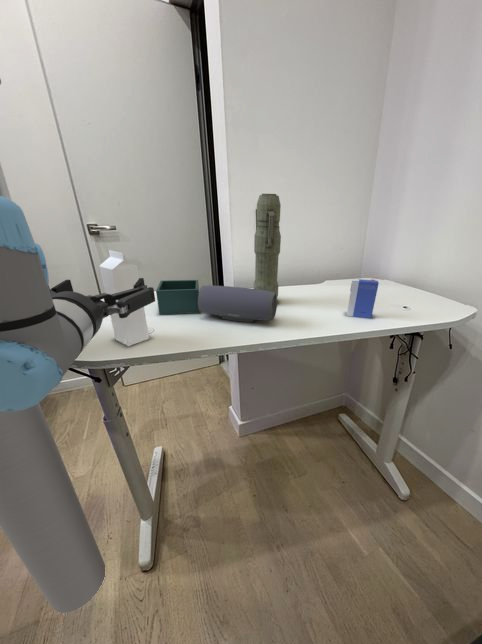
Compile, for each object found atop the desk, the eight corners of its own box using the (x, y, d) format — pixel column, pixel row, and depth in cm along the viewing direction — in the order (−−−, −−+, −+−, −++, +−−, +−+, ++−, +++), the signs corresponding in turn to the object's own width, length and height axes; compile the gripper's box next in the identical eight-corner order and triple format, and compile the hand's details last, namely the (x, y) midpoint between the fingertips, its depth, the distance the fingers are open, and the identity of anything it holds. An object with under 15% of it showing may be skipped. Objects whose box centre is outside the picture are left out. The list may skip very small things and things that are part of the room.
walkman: (370, 315, 97) (378, 279, 91) (371, 318, 94) (379, 281, 89) (346, 313, 98) (352, 277, 93) (346, 315, 96) (352, 279, 90)
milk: (128, 346, 72) (108, 254, 62) (115, 339, 75) (94, 251, 65) (149, 338, 76) (134, 251, 66) (136, 332, 80) (120, 248, 69)
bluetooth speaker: (276, 318, 92) (278, 287, 88) (270, 329, 84) (271, 295, 80) (210, 310, 97) (208, 280, 92) (198, 320, 89) (195, 287, 84)
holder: (159, 314, 92) (155, 290, 88) (163, 302, 103) (160, 280, 99) (199, 313, 94) (198, 289, 91) (199, 301, 105) (198, 279, 102)
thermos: (271, 296, 113) (276, 194, 97) (282, 306, 103) (289, 194, 87) (249, 297, 111) (250, 193, 95) (258, 307, 101) (260, 193, 84)
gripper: (-29, 355, 39) (44, 305, 58) (162, 343, 44) (173, 301, 62) (-55, 301, 36) (31, 267, 55) (155, 294, 41) (168, 265, 59)
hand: (107, 285), depth 59 cm, fingers open, 13 cm apart
